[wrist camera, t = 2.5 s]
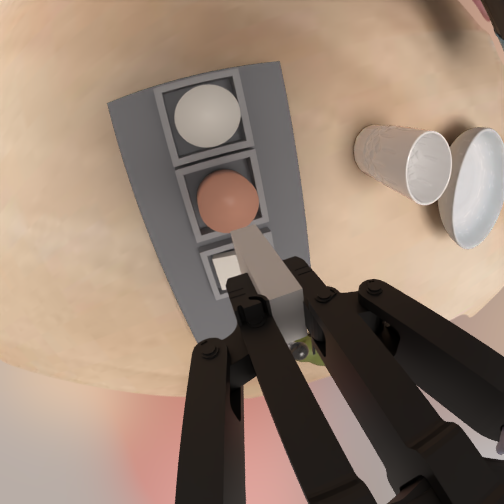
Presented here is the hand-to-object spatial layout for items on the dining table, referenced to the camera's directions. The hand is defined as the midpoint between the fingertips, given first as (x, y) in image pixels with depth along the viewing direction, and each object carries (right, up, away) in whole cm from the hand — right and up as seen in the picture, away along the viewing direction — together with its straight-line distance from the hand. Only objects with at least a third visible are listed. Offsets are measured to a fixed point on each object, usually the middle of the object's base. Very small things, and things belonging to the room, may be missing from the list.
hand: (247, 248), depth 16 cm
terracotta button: (-2, +5, +8) cm, 10 cm away
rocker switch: (-1, -2, +13) cm, 13 cm away
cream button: (-4, +11, +5) cm, 13 cm away
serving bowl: (+36, +13, +21) cm, 43 cm away
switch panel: (-3, +3, +14) cm, 15 cm away
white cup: (+16, +13, +15) cm, 25 cm away
